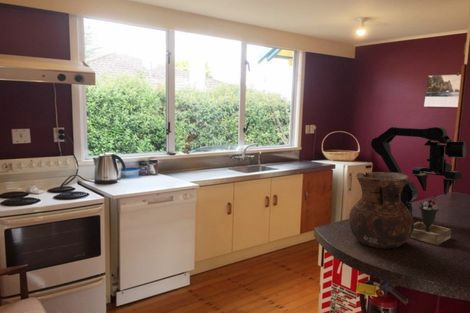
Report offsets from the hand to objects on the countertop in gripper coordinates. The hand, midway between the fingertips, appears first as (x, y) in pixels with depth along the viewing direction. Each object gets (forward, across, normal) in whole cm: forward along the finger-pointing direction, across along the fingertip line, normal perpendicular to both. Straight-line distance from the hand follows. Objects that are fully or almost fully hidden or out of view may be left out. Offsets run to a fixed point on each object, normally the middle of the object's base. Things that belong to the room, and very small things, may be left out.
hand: (434, 192), depth 157 cm
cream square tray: (+13, -11, +21) cm, 27 cm away
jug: (+13, -6, +42) cm, 45 cm away
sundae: (+12, -10, +21) cm, 26 cm away
